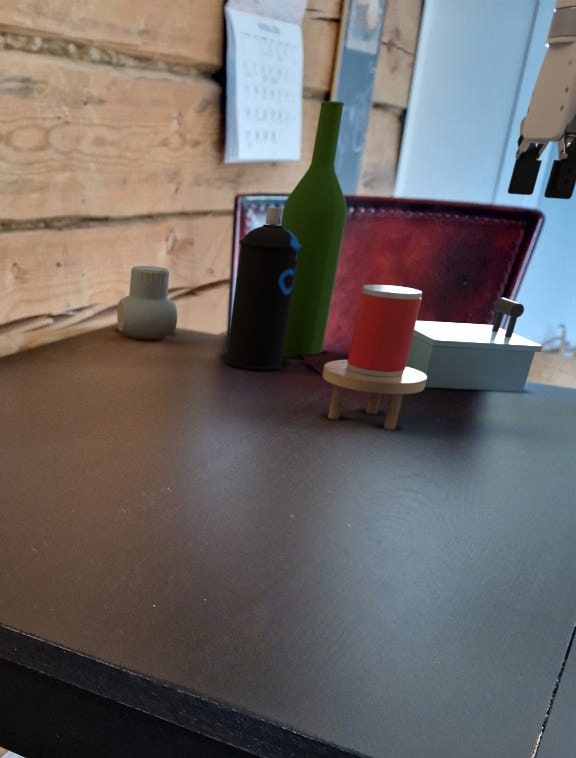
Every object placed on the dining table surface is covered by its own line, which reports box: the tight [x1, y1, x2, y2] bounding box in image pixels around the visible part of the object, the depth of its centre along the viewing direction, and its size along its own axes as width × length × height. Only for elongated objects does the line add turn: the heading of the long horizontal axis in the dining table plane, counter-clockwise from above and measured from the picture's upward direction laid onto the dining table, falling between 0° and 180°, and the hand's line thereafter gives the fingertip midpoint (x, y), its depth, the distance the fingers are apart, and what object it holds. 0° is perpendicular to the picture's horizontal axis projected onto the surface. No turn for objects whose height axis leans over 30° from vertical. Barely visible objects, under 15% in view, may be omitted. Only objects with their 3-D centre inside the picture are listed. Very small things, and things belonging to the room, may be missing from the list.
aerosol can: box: [224, 206, 301, 372], centre depth 117 cm, size 8×8×20 cm
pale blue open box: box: [406, 336, 536, 393], centre depth 118 cm, size 14×15×6 cm
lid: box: [413, 297, 543, 353], centre depth 115 cm, size 14×15×5 cm
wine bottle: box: [280, 100, 348, 360], centre depth 123 cm, size 9×9×32 cm
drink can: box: [347, 284, 423, 377], centre depth 92 cm, size 6×6×8 cm
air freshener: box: [116, 265, 178, 340], centre depth 133 cm, size 11×8×10 cm
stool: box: [321, 359, 427, 430], centre depth 95 cm, size 11×11×6 cm
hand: (537, 196), depth 108 cm, fingers open, 9 cm apart
